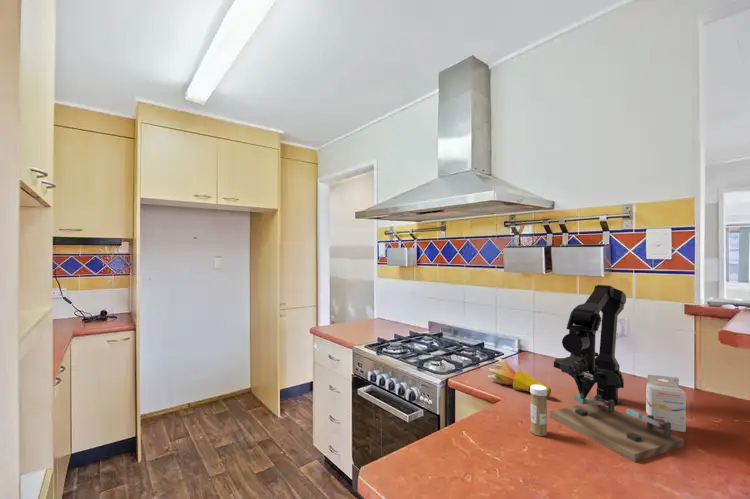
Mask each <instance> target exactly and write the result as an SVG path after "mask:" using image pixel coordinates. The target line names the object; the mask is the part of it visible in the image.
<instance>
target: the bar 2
mask: <svg viewBox="0 0 750 499" xmlns="http://www.w3.org/2000/svg"><path fill="white" fill-rule="evenodd" d="M625 413H626V415H628V416H631V417H633V418H635V419H636V418H637V419H638V420H639V419H640V421H642V422H643V421H644V422H645V423H647V422H648V423H650V424H652V425H654V426H656V427H659V428H658V429H661V430H663V431H664V424H662V423H660V422H657V421H655V420H653V419H651V418H648V417H646V415H644V414H642V413H640V412H638V411H635V410H634V409H631V408H627V409H626V411H625Z"/></svg>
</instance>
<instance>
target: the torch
mask: <svg viewBox="0 0 750 499" xmlns="http://www.w3.org/2000/svg"><path fill="white" fill-rule="evenodd" d="M497 360H498V362H499V363H498V364H497V363H496V364H495V363H494V364H491V365H492V366H493V367H494V368H495V369H494V368H490V367H488V370H489V372H491V374H492V375H491V374H490V375H489V374H488V375H487V377H488V378H489V379H492V380H493V381H492V382H494V383H497V384H501V385H506V386H507V385H508V386H511V385H512V388H513V390H514V391H525V392H529V393H531V392H530V386H531V385H542V386H545V387H546V388H547V397H548V396H550V395H551V394H552V389H551V387H550V386H548V385H547V384H545V383H543V382H542V381H539V380H537V379H536V378H534V377H533V376H531V375H529V374H528V373H527V372H524V371H522V370H518V371H515V369H513V367H512V366H511V365H510V364H509V363H508V362H507V360H505V359H503V358H500V357H497Z"/></svg>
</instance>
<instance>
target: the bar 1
mask: <svg viewBox="0 0 750 499" xmlns="http://www.w3.org/2000/svg"><path fill="white" fill-rule="evenodd" d="M572 400H573V401H575V402H577V403H579V404H581V405H582V404H593V405H602V406H606V407H608V401H605V400H603V399H597V398H593V397H588V396H587V397H586V398H585V399H584V398H582V397H581V396H580V395H576V394H575V395H573V399H572Z"/></svg>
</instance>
